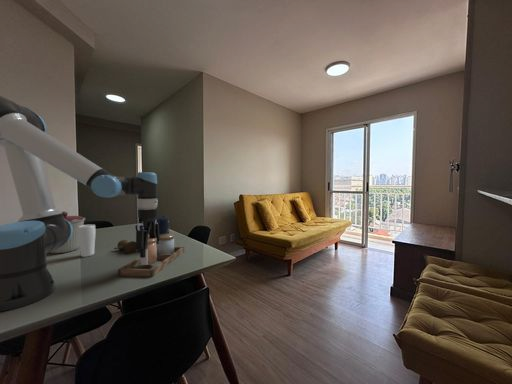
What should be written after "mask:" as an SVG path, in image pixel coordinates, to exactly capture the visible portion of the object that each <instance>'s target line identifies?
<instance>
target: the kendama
mask: <svg viewBox="0 0 512 384" xmlns="http://www.w3.org/2000/svg"><path fill="white" fill-rule="evenodd" d="M148 238H150V236H148ZM116 246H117V247H114V248H113V250H118V251H124V250H125V252H126V253H127V254H130V253H134V252H136V251H137V250H136V241H134V240H133V241H132V240H131V241H128V240H126V239H121V240H120V241H119V242H118V243H117V245H116Z"/></svg>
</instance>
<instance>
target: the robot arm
mask: <svg viewBox="0 0 512 384" xmlns="http://www.w3.org/2000/svg"><path fill="white" fill-rule="evenodd" d="M0 147H2V148H3V150H4V152H5V156H6V160H7V163H8V167H9V170H10V174H11V177H12V181H13V184H14V188H15V191H16V196H17V198H18V202H19V206H20V208H21V212H22V216H21V217H20V218H19V219H18V220H17V221H16V222H15V221H14V222H12V223H10V222H9V223H5V224H2V225H0V312H4V311H9V310H14V309H17V308H22V307H25V306H29V305H31V304H33V303H36V302H38V301H40V300H42V299H45V298H46V297H48V296H50V295H51V294H52V293H53V292H54V291H55V290H56V282H55V280H54V279H53V276H52V275H51V273H50V271H49V269H48V267H47V254H50V253H49V252H51V251H53V250H55V249H58V248H59V247H61V246H63V245H64V244H65V243H66V242H68V241H69V239H70V238H71V236H72V234H73V227H72V225H71V223H70V222H69V221H67V220H65V219H64V216H63V213H62V212H63V211H61V210H60V209H59V210H58V209H57V207H56V204H55V200H54V196H53V192H52V189H51V186H50V185H51V184H50V182H49V178H48V174H47V173H48V172H47V170H46V167H45V162H46V163H47V164H49V165H50V166H52V167H54V168H55V169H57V170H59V171H61V172H62V173H63V174H66V175H67V176H69V177H70V178H72V179H74V180H76V181H77V182H79V183H81V184H82V185H84V186H86V187H87V188H90V190H91V191H92V192H93V193H94V194H95V195H96V196H98V197H101V198H107V199H108V198H115V197H118V196H127V195H128V196H131V195H132V196H133V195H134V196H137V208H138V210H137V218H138V219H140V223H139V224H138V225H137V224H136V225H135V231H136V232H135V234H136V235H135V242H136V250H135V251H137V250H138V251H139V255H140V258H141V264H140V265H141V266H149V265H148V249H146V247H147V240H148V237H150V238H157V241H156V257H157V244H159V242H158V241H159V240H160V237H159V220H156V219H155V217H157V216H159V211H158V202H159V201H158V175H157V174H156V172H152V171H151V172H150V171H149V172H148V171H147V172H146V171H145V172H144V171H139V172H137V174H136V176H117V175H114V174H112V173H110V172H108V171H107V170H105V169H104V168H103V167H101V166H99V165H98V164H96V163H94V162H92V161H91V160H89V159H88V158H86V157H84V156H83V155H82V154H81V153H78V152H77V151H75V150H73V149H72V148H70V147H69V146H67V145H65V144H64V143H62V142H61V141H59V140H58V139H56V138H54V137H53V136H51V135H50V134H48V133H47V124H46V122H45V121H44V118H42V117H41V116H40V115H39V114H37V113H36V112H34V111H33V110H32V109H31V108H28V107H26V106H23V105H20V104H18V103H17V102H13V101H12V100H9V99H8V98H6V97H4V96H3V95H0Z"/></svg>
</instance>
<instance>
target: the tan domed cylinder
mask: <svg viewBox="0 0 512 384" xmlns="http://www.w3.org/2000/svg"><path fill="white" fill-rule="evenodd" d="M156 241H157V238H148V240H147V247H146V249H148V265H147V266H150V265H153V264H156V263H157V262H158V260H157V257H156Z"/></svg>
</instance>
